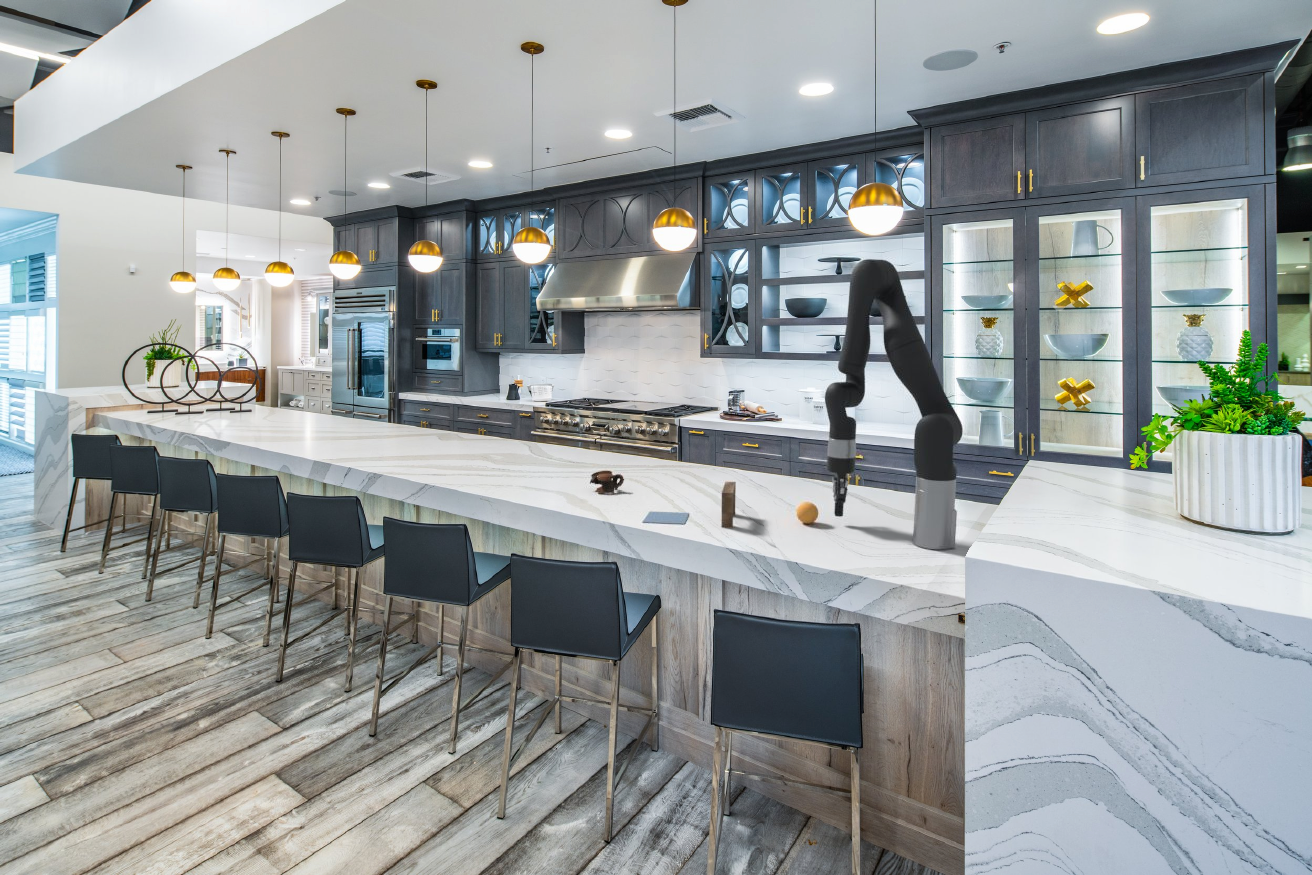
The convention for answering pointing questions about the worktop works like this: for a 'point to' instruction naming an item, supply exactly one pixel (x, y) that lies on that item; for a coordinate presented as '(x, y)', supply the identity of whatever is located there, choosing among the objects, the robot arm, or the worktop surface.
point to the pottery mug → (606, 481)
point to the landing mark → (666, 517)
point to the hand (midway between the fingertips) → (838, 515)
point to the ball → (807, 512)
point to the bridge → (728, 504)
